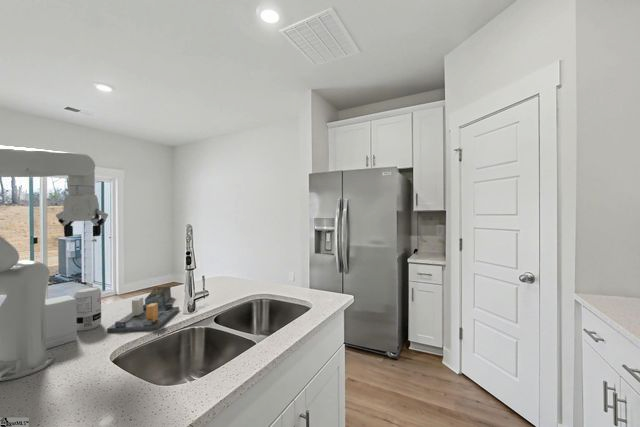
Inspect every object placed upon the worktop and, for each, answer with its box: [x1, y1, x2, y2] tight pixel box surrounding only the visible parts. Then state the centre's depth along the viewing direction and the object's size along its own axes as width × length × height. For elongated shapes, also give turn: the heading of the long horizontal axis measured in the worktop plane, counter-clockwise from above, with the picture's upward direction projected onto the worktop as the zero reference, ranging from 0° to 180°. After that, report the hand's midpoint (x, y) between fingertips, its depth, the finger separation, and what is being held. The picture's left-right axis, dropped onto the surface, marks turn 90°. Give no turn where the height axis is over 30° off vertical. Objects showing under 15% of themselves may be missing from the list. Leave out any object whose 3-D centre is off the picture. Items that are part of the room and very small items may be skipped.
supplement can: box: [73, 286, 102, 332], centre depth 108 cm, size 8×8×15 cm
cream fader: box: [131, 296, 144, 316], centre depth 117 cm, size 4×2×7 cm, turn 7°
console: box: [106, 302, 180, 333], centre depth 115 cm, size 21×18×4 cm
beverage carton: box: [144, 285, 172, 308], centre depth 136 cm, size 8×19×7 cm, turn 19°
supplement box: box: [45, 294, 78, 350], centre depth 96 cm, size 9×9×15 cm
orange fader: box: [146, 303, 158, 322], centre depth 109 cm, size 4×2×7 cm, turn 7°
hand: (82, 236), depth 103 cm, fingers open, 9 cm apart
